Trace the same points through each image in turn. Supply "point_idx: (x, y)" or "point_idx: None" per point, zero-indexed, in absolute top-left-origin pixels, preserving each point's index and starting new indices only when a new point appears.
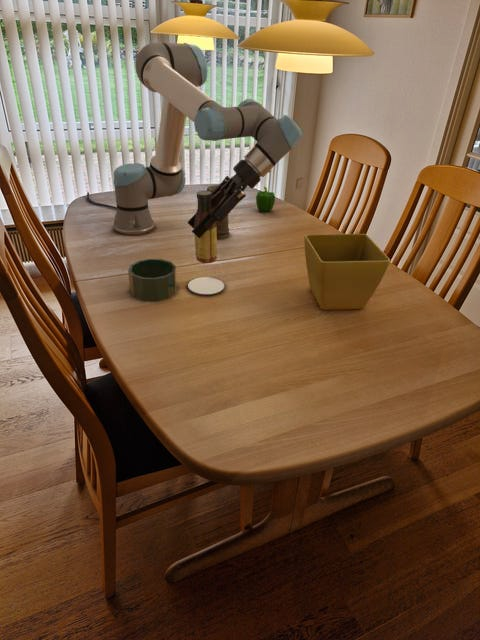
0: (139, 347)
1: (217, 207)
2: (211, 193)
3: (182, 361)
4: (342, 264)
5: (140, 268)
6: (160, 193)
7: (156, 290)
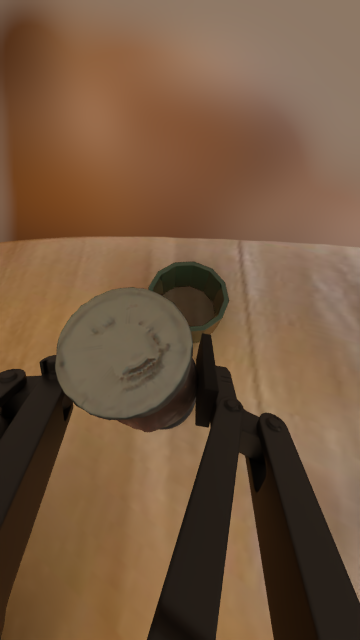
0: (63, 263)
1: (18, 413)
2: (80, 407)
3: (8, 293)
4: None
5: (217, 290)
6: None
7: None
